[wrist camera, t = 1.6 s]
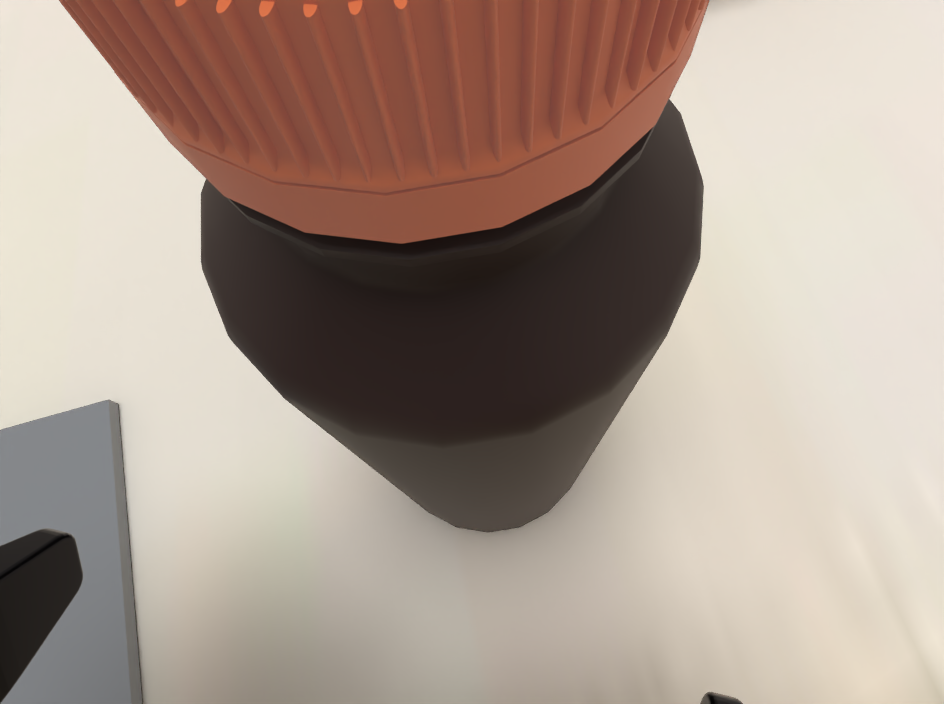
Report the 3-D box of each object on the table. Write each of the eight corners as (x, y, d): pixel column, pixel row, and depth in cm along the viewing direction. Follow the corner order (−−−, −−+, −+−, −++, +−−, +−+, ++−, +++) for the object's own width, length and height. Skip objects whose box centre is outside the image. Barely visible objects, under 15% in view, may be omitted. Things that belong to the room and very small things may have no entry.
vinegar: (614, 496, 21) (1343, -98, 3) (423, 560, 21) (-313, 410, 2) (545, 321, 24) (670, -658, 5) (372, 377, 23) (-201, -446, 5)
